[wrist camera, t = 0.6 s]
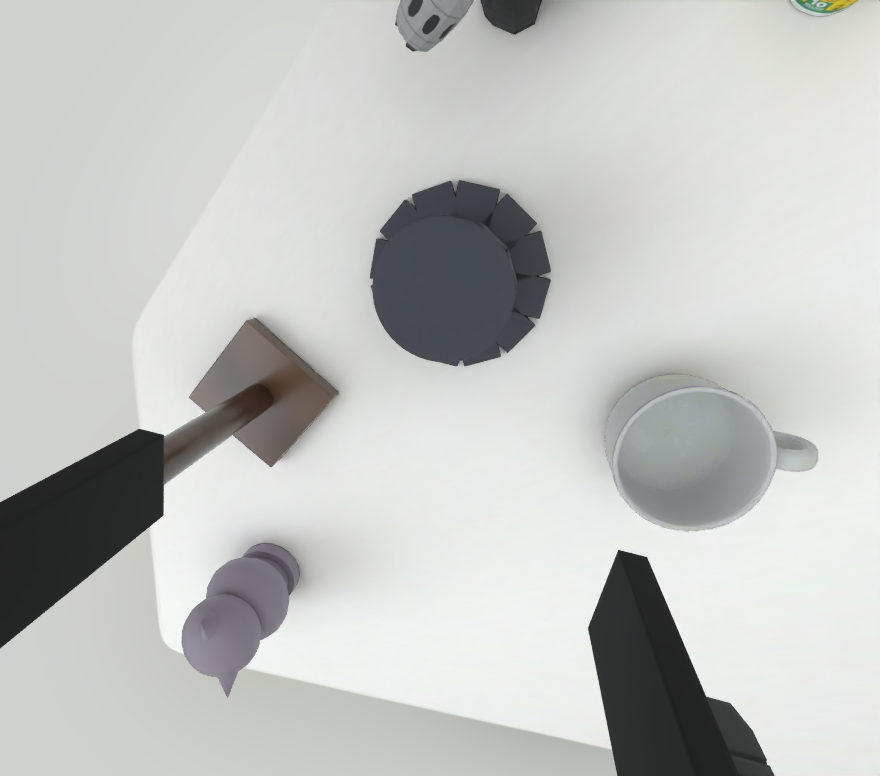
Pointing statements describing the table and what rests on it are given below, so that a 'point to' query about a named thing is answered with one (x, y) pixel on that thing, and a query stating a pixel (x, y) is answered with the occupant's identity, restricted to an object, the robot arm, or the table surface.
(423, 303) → the hat
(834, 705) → the table surface
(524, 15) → the robot
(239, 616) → the cat figurine
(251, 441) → the stand
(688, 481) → the teacup
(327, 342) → the table surface
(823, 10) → the supplement bottle
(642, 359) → the table surface
